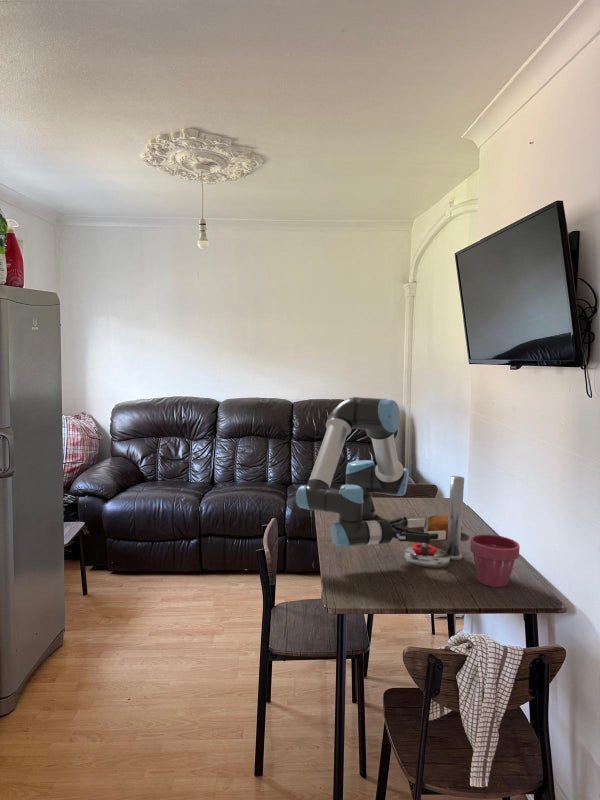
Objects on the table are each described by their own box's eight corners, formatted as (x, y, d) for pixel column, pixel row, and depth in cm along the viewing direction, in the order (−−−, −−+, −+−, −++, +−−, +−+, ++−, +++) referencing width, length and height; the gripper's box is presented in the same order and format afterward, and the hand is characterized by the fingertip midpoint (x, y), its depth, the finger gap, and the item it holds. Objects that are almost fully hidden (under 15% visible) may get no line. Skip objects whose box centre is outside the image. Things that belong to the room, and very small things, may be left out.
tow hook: (411, 545, 200) (411, 553, 191) (413, 509, 199) (414, 516, 190) (435, 547, 199) (437, 556, 189) (437, 511, 198) (439, 518, 189)
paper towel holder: (397, 553, 197) (401, 474, 195) (449, 549, 203) (453, 472, 201) (417, 569, 183) (422, 484, 180) (473, 564, 189) (478, 482, 186)
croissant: (464, 544, 216) (468, 524, 215) (425, 537, 215) (429, 517, 214) (452, 531, 230) (456, 512, 230) (415, 525, 229) (419, 506, 229)
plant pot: (507, 573, 182) (510, 534, 181) (524, 591, 168) (527, 550, 167) (463, 571, 182) (465, 532, 181) (475, 589, 168) (478, 547, 167)
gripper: (361, 531, 198) (415, 528, 204) (393, 556, 174) (454, 552, 180) (362, 510, 197) (417, 507, 203) (395, 532, 173) (455, 529, 179)
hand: (434, 528), depth 192 cm, fingers open, 13 cm apart
